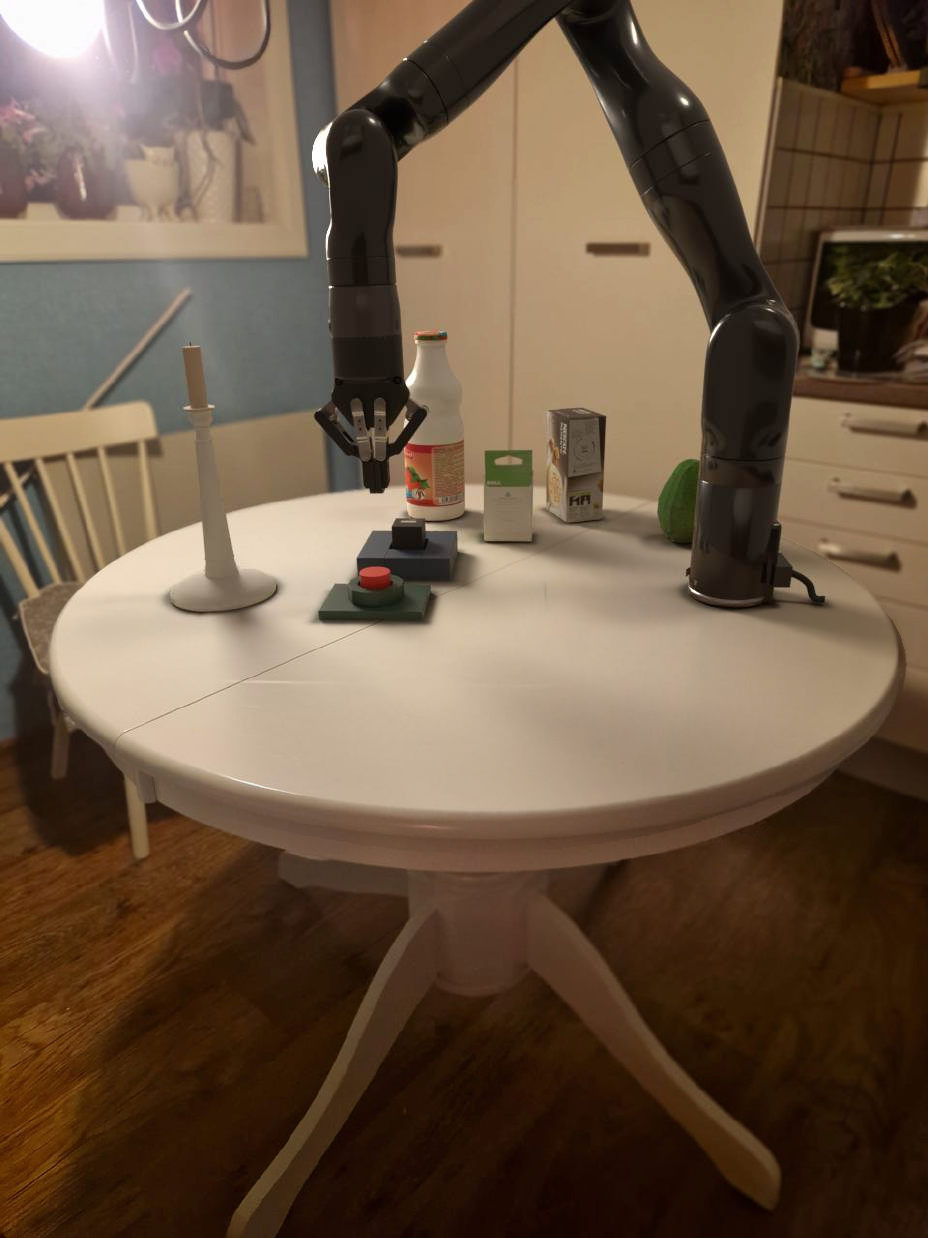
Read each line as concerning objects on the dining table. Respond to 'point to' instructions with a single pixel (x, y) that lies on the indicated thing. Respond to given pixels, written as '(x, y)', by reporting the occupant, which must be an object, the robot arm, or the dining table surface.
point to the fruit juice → (435, 435)
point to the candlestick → (213, 519)
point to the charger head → (409, 534)
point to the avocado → (679, 502)
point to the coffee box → (575, 464)
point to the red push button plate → (376, 601)
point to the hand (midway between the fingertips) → (377, 491)
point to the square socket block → (411, 556)
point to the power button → (375, 578)
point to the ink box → (508, 496)
